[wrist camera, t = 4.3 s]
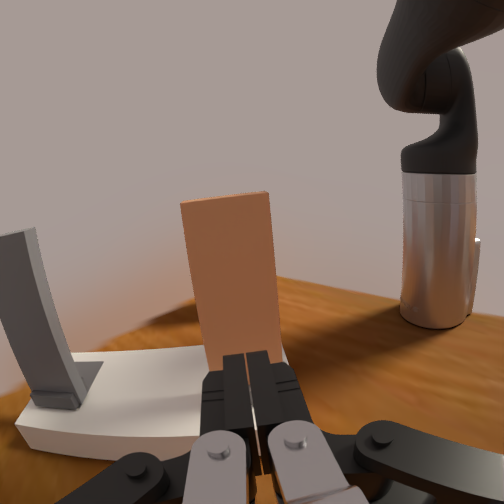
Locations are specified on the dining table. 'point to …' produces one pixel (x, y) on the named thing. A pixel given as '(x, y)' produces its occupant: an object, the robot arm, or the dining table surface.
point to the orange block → (233, 275)
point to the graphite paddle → (36, 324)
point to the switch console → (127, 406)
